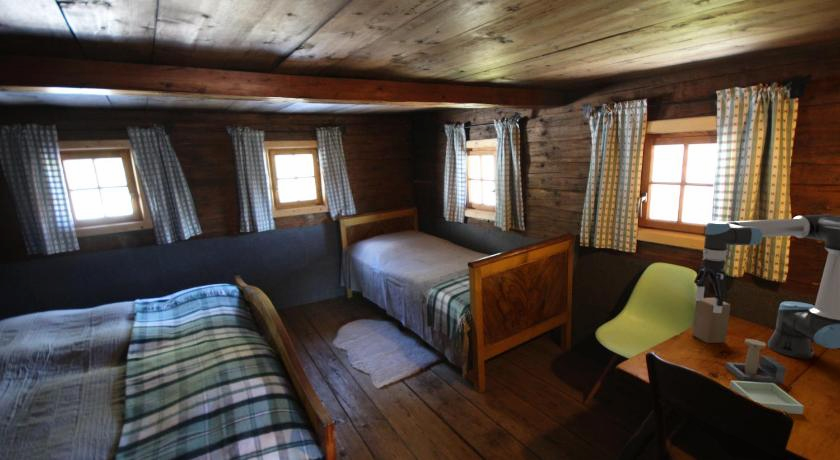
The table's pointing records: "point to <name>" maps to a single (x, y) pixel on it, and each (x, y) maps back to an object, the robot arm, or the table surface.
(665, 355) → the table surface
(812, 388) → the table surface
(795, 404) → the tray
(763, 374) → the socket
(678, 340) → the table surface
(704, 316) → the wooden block
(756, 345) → the handle
